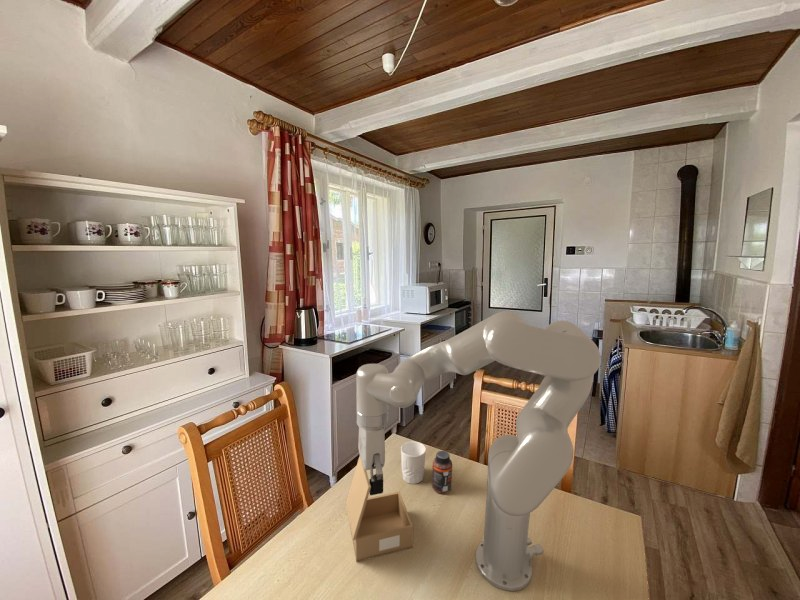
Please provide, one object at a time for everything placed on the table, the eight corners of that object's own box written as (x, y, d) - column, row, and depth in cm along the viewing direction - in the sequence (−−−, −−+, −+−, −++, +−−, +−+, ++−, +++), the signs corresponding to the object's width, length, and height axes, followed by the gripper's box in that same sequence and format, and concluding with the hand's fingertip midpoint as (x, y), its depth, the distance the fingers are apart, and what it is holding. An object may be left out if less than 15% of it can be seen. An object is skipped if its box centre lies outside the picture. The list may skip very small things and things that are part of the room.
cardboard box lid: (361, 455, 89) (359, 455, 88) (370, 487, 78) (368, 486, 77) (348, 502, 90) (346, 502, 90) (355, 539, 79) (352, 539, 79)
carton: (399, 510, 95) (399, 491, 94) (412, 547, 84) (413, 526, 83) (349, 521, 91) (349, 502, 90) (356, 562, 80) (356, 540, 79)
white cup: (399, 469, 112) (399, 441, 110) (422, 467, 113) (423, 440, 111) (401, 486, 104) (402, 457, 103) (427, 484, 105) (428, 455, 103)
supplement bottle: (450, 496, 101) (452, 462, 99) (430, 493, 102) (431, 459, 100) (451, 482, 106) (453, 449, 104) (432, 479, 107) (434, 447, 105)
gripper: (351, 401, 88) (352, 460, 91) (363, 438, 72) (363, 509, 75) (379, 397, 90) (379, 455, 93) (397, 433, 74) (395, 502, 77)
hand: (372, 479), depth 84 cm, fingers open, 9 cm apart
